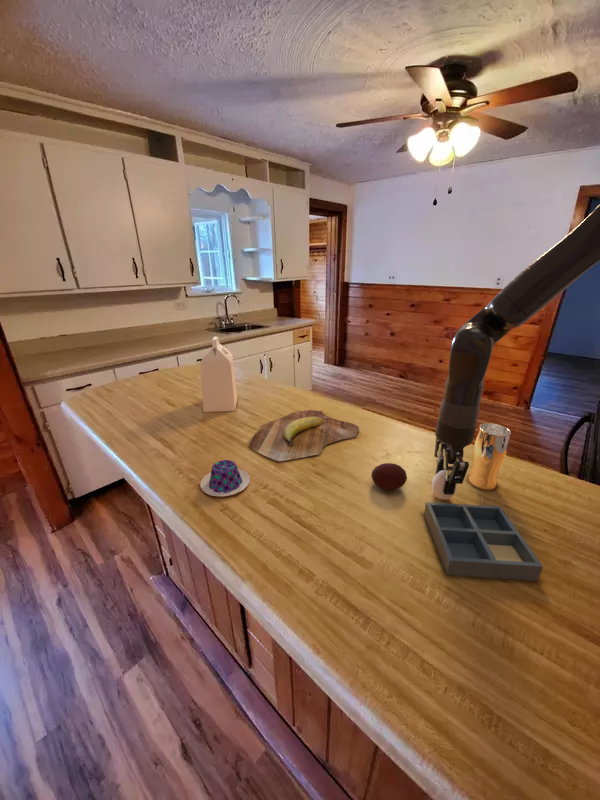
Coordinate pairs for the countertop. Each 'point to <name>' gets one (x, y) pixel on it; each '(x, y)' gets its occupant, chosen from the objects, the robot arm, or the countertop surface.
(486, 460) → the beer glass
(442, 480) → the egg
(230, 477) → the pudding
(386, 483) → the potato
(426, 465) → the countertop surface
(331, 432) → the cutting board
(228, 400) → the milk
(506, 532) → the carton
